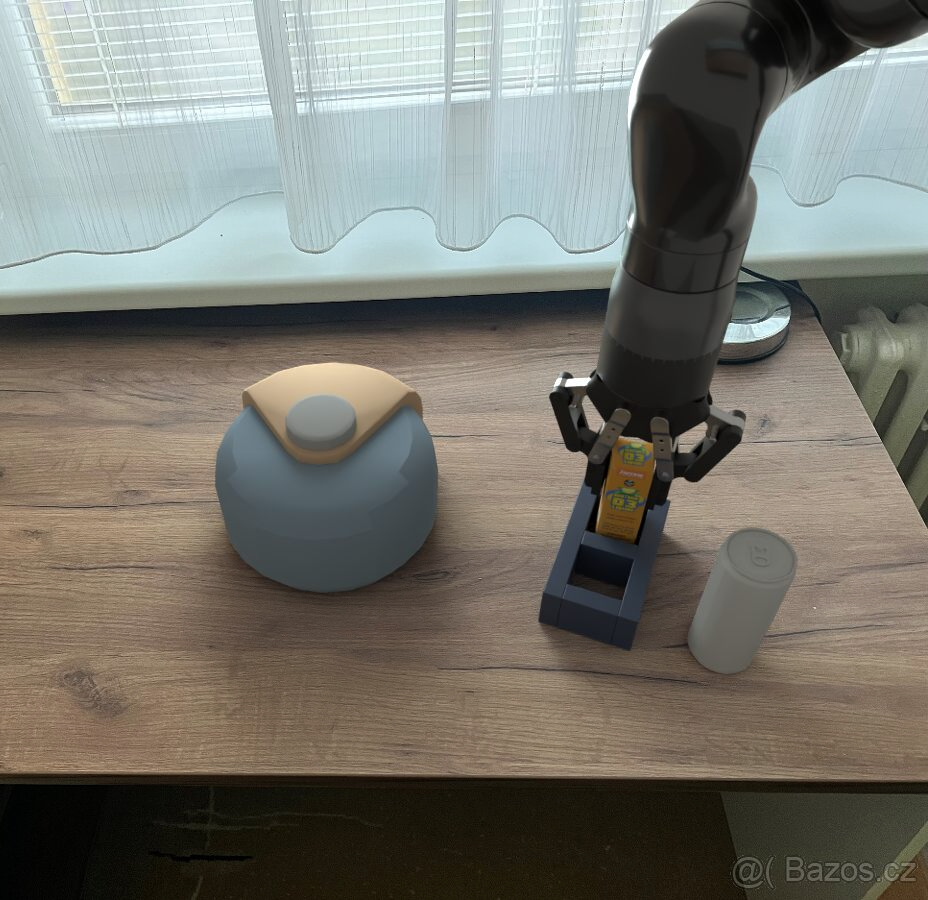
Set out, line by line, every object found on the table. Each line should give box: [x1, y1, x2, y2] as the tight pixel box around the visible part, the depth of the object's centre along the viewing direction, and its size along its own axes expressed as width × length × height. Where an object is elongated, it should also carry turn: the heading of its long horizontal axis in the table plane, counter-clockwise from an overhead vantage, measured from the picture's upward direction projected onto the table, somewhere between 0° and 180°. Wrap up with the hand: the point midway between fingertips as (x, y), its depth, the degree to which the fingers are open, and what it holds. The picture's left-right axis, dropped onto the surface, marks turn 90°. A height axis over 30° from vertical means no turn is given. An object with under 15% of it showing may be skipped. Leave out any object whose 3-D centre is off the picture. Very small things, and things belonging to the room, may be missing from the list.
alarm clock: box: [214, 362, 439, 594], centre depth 76 cm, size 19×20×12 cm
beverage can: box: [686, 527, 799, 675], centre depth 63 cm, size 5×5×12 cm
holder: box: [538, 477, 672, 652], centre depth 71 cm, size 7×13×4 cm, turn 154°
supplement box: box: [594, 437, 656, 545], centre depth 69 cm, size 3×3×10 cm
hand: (624, 494), depth 69 cm, fingers closed on supplement box, 3 cm apart
